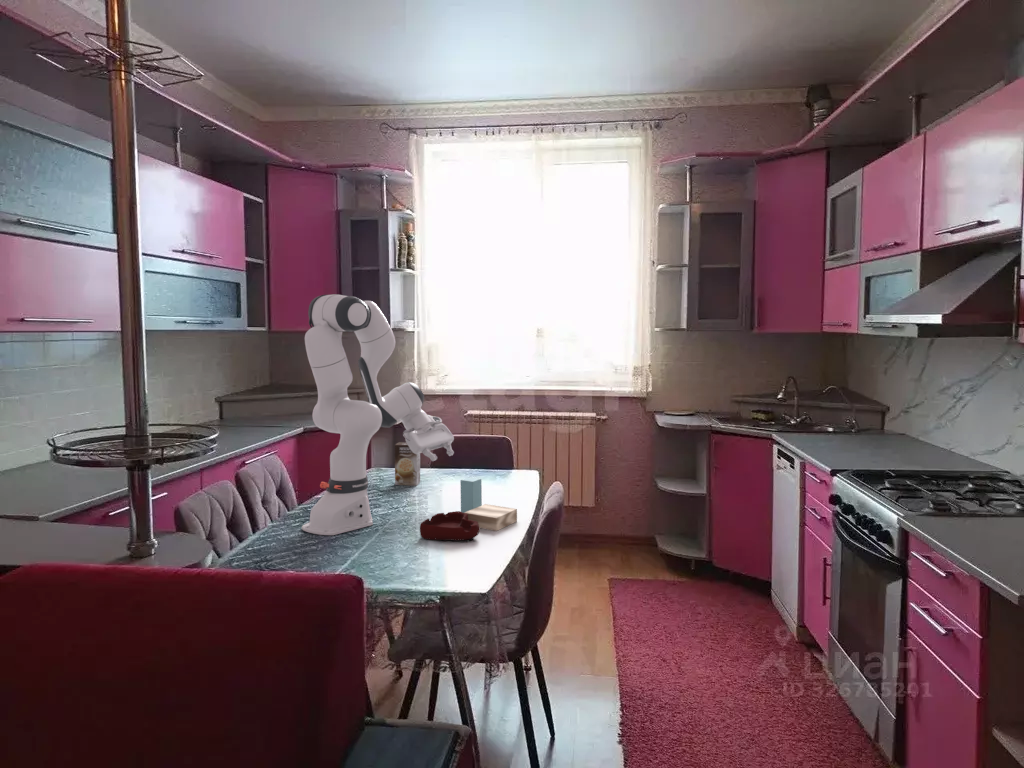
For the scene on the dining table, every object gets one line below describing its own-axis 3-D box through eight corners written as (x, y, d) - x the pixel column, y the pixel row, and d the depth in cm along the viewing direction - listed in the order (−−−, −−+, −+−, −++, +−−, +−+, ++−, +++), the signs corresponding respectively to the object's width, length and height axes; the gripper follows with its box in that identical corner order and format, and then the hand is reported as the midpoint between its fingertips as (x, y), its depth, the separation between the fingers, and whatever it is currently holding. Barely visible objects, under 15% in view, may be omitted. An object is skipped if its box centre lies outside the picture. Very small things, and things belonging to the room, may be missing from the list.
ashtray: (412, 531, 209) (412, 515, 209) (464, 525, 215) (463, 509, 215) (428, 549, 193) (427, 531, 192) (483, 542, 199) (482, 525, 198)
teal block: (473, 514, 227) (472, 481, 226) (460, 512, 229) (460, 480, 228) (481, 511, 231) (481, 478, 230) (469, 509, 233) (469, 477, 233)
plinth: (496, 531, 208) (496, 518, 208) (464, 525, 214) (463, 512, 214) (516, 521, 218) (516, 508, 218) (485, 516, 225) (485, 504, 224)
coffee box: (394, 485, 269) (393, 444, 267) (398, 481, 275) (397, 441, 274) (417, 485, 268) (416, 445, 266) (421, 482, 274) (420, 442, 273)
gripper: (405, 425, 229) (429, 456, 225) (443, 416, 246) (466, 446, 242) (395, 437, 231) (419, 468, 227) (433, 428, 249) (456, 457, 245)
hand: (443, 457), depth 235 cm, fingers open, 8 cm apart
